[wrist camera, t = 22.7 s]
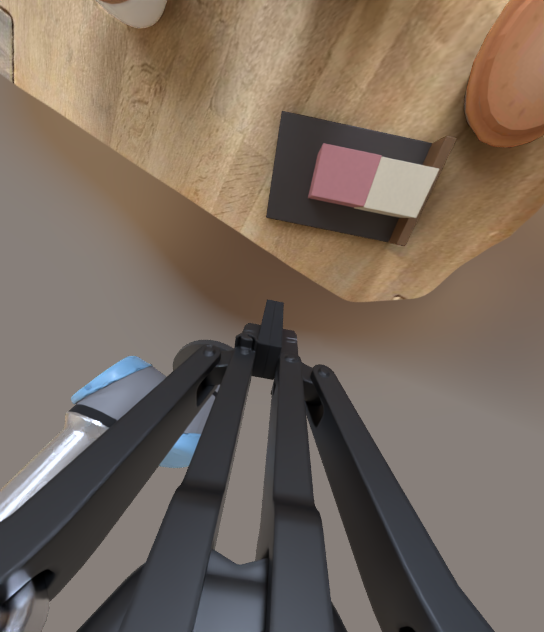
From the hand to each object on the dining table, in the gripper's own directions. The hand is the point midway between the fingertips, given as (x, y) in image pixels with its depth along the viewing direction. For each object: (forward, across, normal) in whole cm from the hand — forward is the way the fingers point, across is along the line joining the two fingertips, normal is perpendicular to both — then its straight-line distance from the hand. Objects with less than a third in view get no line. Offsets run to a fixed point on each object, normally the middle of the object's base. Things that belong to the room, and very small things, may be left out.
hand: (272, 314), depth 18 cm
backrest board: (+24, +8, +14) cm, 29 cm away
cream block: (+23, +14, +14) cm, 31 cm away
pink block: (+23, +6, +14) cm, 28 cm away
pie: (+25, +26, +29) cm, 46 cm away
